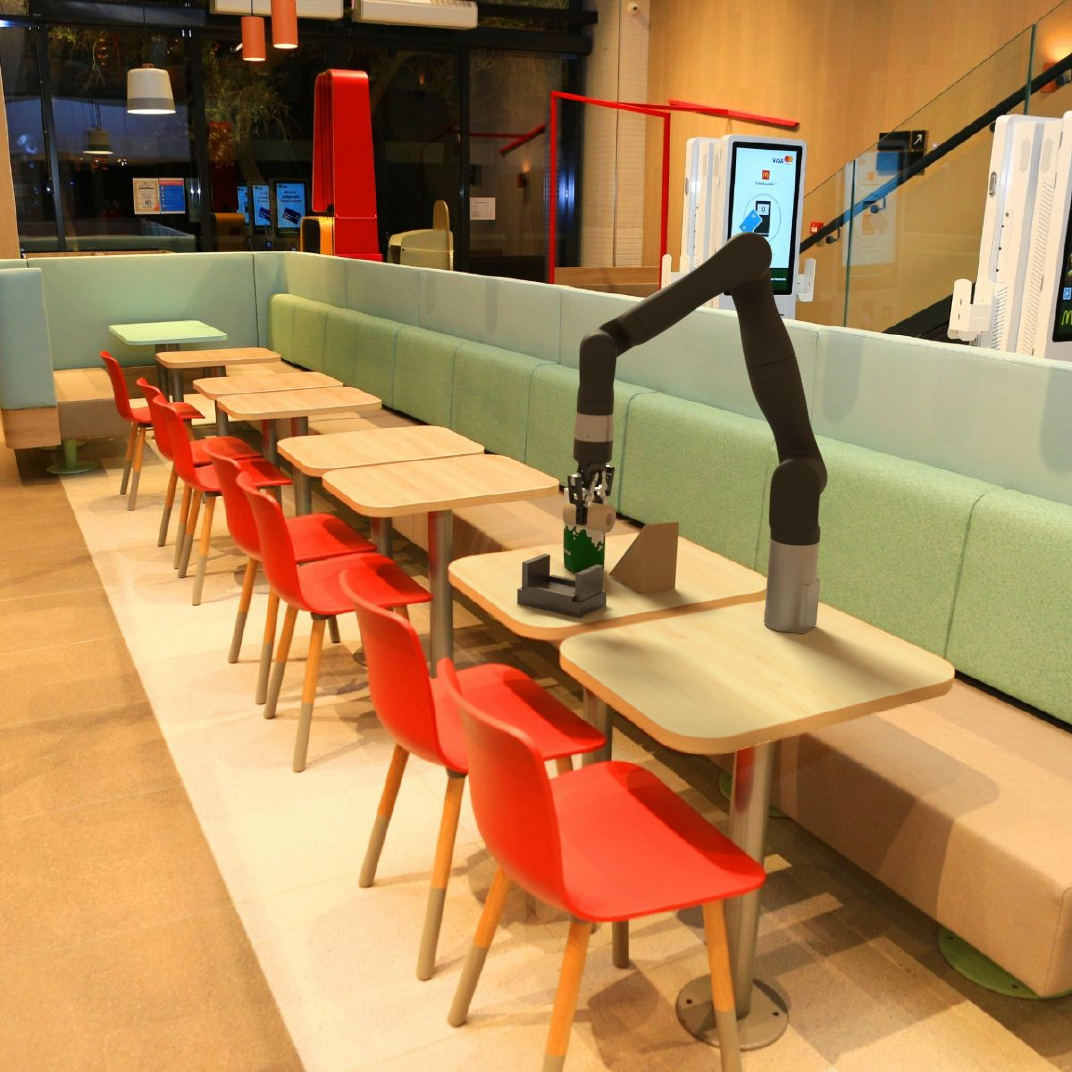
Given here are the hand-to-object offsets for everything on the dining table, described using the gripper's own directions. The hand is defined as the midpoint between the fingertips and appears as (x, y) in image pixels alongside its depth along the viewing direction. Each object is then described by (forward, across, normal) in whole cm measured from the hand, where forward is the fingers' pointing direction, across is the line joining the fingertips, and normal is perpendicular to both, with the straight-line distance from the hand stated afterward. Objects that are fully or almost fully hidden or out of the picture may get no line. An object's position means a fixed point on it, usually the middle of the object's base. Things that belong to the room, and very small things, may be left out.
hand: (589, 521), depth 223 cm
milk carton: (+19, +24, +16) cm, 35 cm away
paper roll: (+1, 0, 0) cm, 1 cm away
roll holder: (+18, 0, +6) cm, 19 cm away
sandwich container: (+19, +24, +1) cm, 30 cm away
